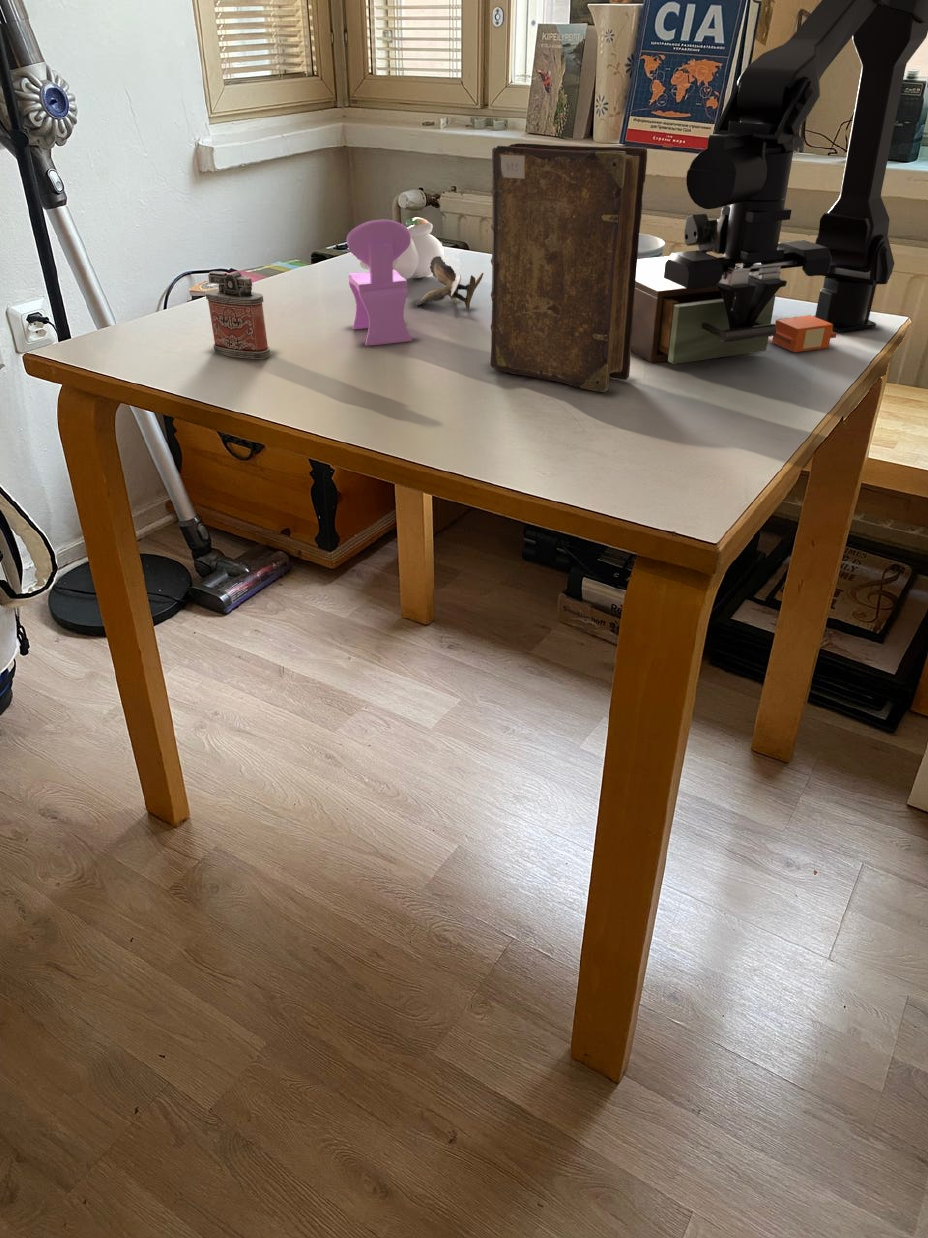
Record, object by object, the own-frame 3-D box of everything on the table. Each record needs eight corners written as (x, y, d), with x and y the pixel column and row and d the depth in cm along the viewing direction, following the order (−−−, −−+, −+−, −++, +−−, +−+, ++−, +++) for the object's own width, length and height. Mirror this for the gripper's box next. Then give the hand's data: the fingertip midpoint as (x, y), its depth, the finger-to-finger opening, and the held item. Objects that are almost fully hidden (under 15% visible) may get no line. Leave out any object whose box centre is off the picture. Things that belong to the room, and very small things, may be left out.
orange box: (766, 342, 123) (770, 319, 121) (810, 336, 125) (815, 313, 123) (788, 353, 119) (792, 329, 118) (834, 346, 121) (839, 323, 120)
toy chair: (402, 322, 132) (397, 207, 124) (419, 340, 125) (415, 219, 117) (344, 328, 130) (335, 211, 122) (358, 346, 123) (349, 224, 115)
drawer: (793, 363, 113) (803, 305, 109) (696, 377, 109) (704, 318, 106) (702, 320, 129) (709, 268, 125) (615, 331, 125) (619, 278, 121)
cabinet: (750, 348, 121) (761, 279, 116) (650, 362, 117) (658, 291, 112) (685, 316, 133) (693, 253, 129) (593, 328, 129) (597, 263, 124)
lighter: (275, 352, 122) (265, 272, 116) (260, 360, 119) (249, 278, 114) (224, 345, 124) (212, 266, 119) (208, 352, 122) (195, 272, 116)
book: (483, 369, 115) (483, 142, 102) (515, 354, 120) (520, 135, 106) (603, 396, 107) (621, 153, 93) (632, 379, 112) (654, 145, 98)
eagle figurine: (486, 292, 141) (433, 275, 143) (482, 257, 135) (427, 240, 137) (463, 330, 139) (410, 312, 141) (458, 297, 132) (402, 278, 135)
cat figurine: (440, 209, 153) (362, 209, 144) (464, 243, 150) (386, 245, 142) (419, 257, 160) (344, 259, 152) (442, 290, 158) (366, 295, 149)
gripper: (785, 180, 112) (763, 313, 120) (646, 191, 107) (634, 329, 115) (847, 195, 103) (819, 338, 112) (699, 207, 98) (682, 356, 106)
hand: (737, 339), depth 111 cm, fingers closed, pressing on drawer
